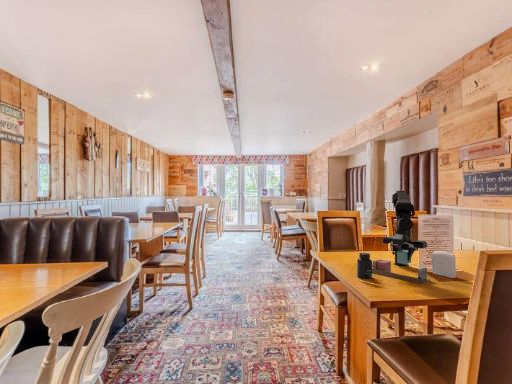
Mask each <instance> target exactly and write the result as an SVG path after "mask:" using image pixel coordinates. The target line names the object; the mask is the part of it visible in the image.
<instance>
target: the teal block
mask: <svg viewBox="0 0 512 384" xmlns="http://www.w3.org/2000/svg"><path fill="white" fill-rule="evenodd" d="M397 263H401V264H408V265H409V264H411V263H412V258H411V259H410V261H408V251H407V250H400V251H397Z"/></svg>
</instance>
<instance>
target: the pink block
mask: <svg viewBox="0 0 512 384" xmlns="http://www.w3.org/2000/svg"><path fill="white" fill-rule="evenodd" d="M391 265H392V261H390V260H385V259H382V261H378V262H377V269H378V270H382V271H387V272H391V273H392V266H391Z"/></svg>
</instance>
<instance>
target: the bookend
mask: <svg viewBox="0 0 512 384" xmlns="http://www.w3.org/2000/svg"><path fill="white" fill-rule="evenodd" d="M417 278H419V279H423V284H425V283H427V282H429V281H430V279H429V278H428V268H427V267H421V268H419V269H417Z"/></svg>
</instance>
